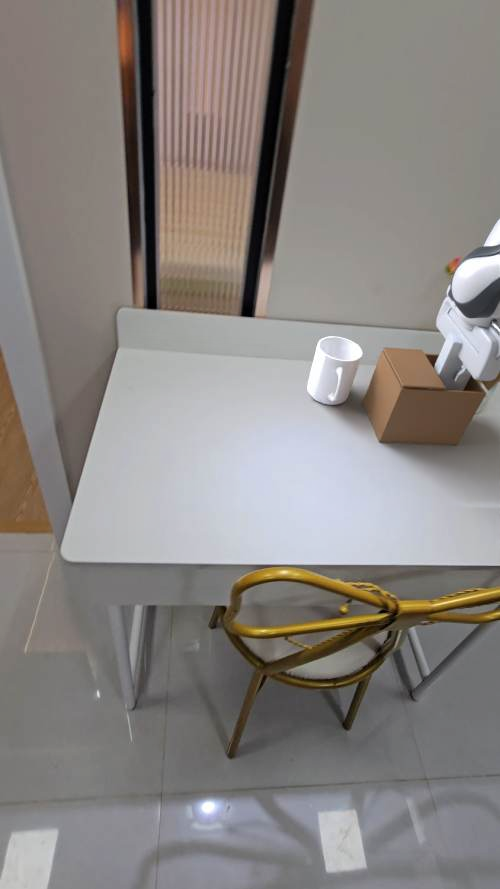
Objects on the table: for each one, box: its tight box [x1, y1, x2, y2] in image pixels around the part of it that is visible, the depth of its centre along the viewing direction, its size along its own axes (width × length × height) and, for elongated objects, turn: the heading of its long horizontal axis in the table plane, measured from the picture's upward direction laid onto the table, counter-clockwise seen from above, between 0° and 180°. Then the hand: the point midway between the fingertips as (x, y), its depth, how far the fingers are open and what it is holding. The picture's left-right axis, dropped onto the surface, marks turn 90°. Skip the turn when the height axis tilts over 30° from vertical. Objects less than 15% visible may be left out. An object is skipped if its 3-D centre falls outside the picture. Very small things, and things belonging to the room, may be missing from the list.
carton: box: [362, 346, 487, 446], centre depth 97 cm, size 17×13×14 cm
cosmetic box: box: [429, 332, 471, 391], centre depth 92 cm, size 6×4×12 cm
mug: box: [306, 335, 363, 406], centre depth 101 cm, size 10×12×12 cm
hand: (451, 372), depth 93 cm, fingers closed on cosmetic box, 4 cm apart
